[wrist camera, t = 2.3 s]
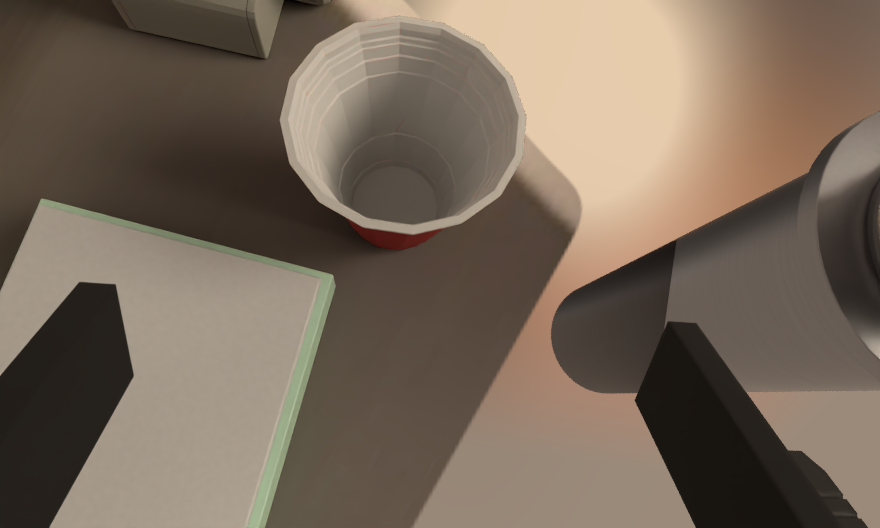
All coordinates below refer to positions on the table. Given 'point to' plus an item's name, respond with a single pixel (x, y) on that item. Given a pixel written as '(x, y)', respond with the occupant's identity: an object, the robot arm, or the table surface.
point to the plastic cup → (403, 127)
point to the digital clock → (209, 21)
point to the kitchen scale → (177, 366)
